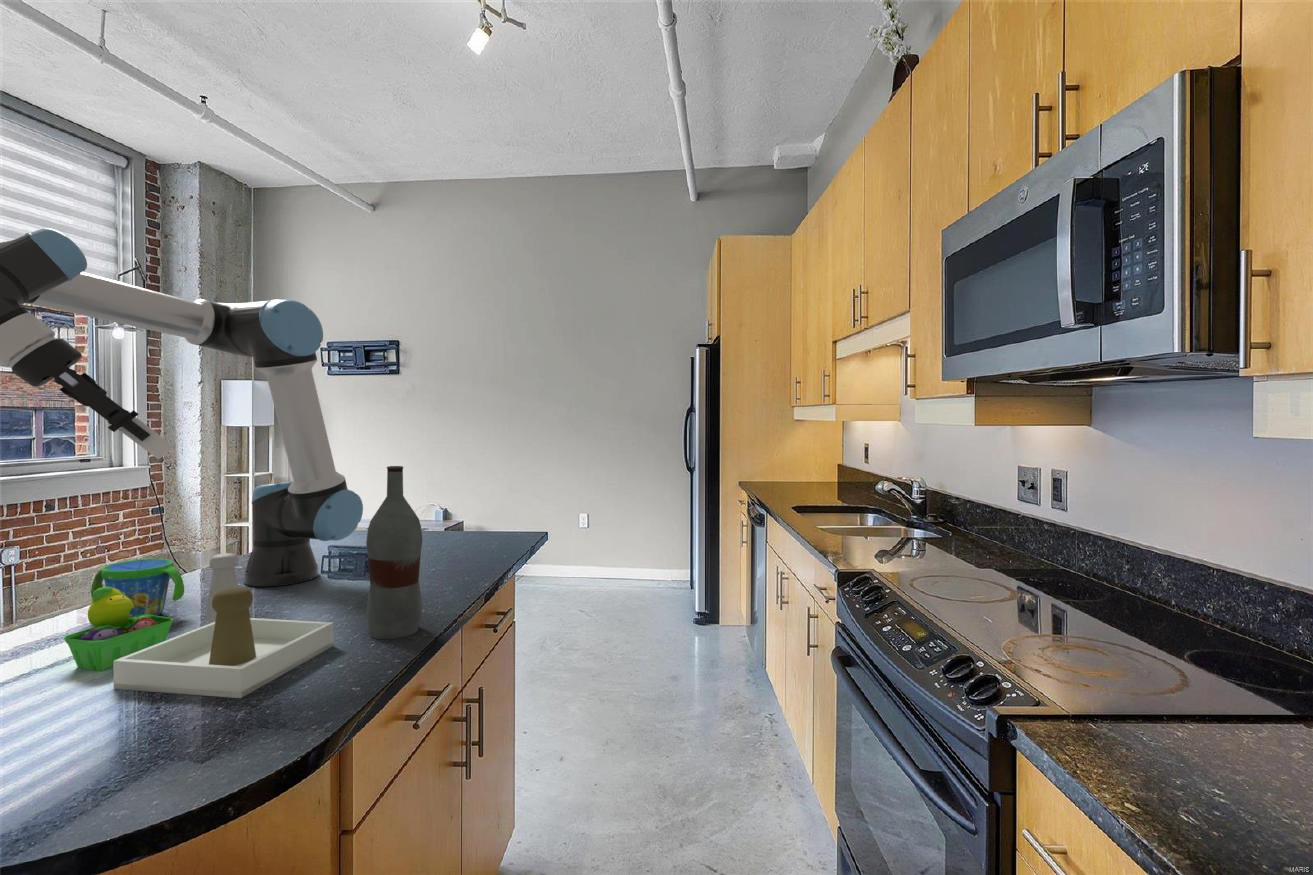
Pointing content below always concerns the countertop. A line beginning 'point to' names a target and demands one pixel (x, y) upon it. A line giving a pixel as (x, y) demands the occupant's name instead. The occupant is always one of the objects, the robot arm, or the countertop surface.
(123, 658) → the bin
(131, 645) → the fruit basket
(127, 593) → the snack cup
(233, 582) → the salt shaker
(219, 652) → the cork
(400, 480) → the bottle
